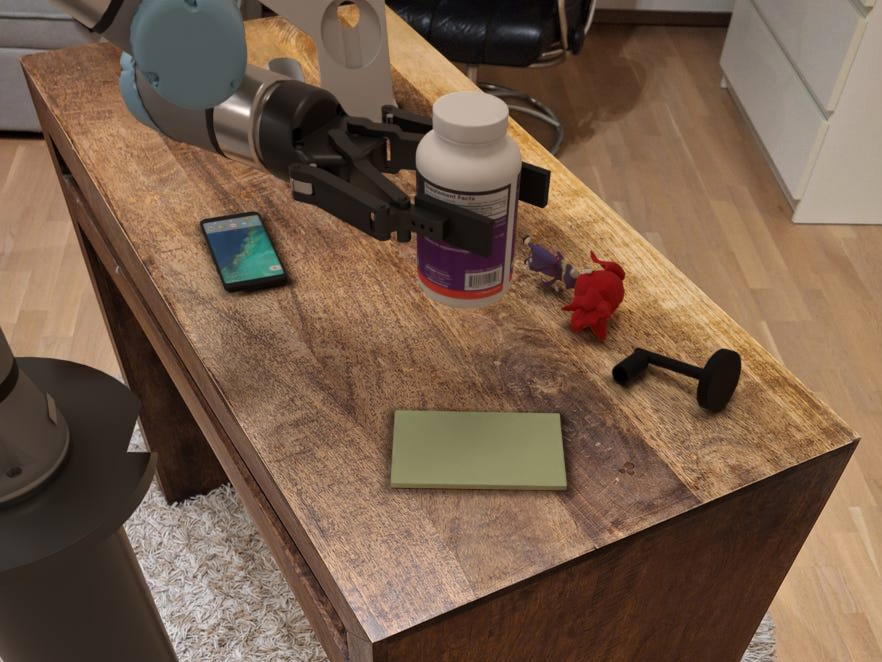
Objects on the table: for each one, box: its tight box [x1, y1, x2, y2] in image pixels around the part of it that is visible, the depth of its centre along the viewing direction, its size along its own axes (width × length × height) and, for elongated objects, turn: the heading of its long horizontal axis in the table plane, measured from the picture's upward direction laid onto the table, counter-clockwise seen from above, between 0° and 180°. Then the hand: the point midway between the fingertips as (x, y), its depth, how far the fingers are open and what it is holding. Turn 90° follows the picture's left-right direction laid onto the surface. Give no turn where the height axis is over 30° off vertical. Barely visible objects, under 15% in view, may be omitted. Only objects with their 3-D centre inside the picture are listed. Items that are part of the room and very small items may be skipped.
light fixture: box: [588, 346, 743, 413], centre depth 89 cm, size 6×11×13 cm
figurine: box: [522, 234, 627, 341], centre depth 96 cm, size 6×8×15 cm
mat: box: [390, 409, 568, 491], centre depth 85 cm, size 16×10×1 cm, turn 91°
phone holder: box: [258, 0, 399, 121], centre depth 115 cm, size 17×10×18 cm, turn 104°
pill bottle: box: [415, 90, 523, 310], centre depth 71 cm, size 8×8×14 cm
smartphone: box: [199, 210, 289, 294], centre depth 102 cm, size 7×1×15 cm
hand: (519, 213), depth 69 cm, fingers closed on pill bottle, 8 cm apart
